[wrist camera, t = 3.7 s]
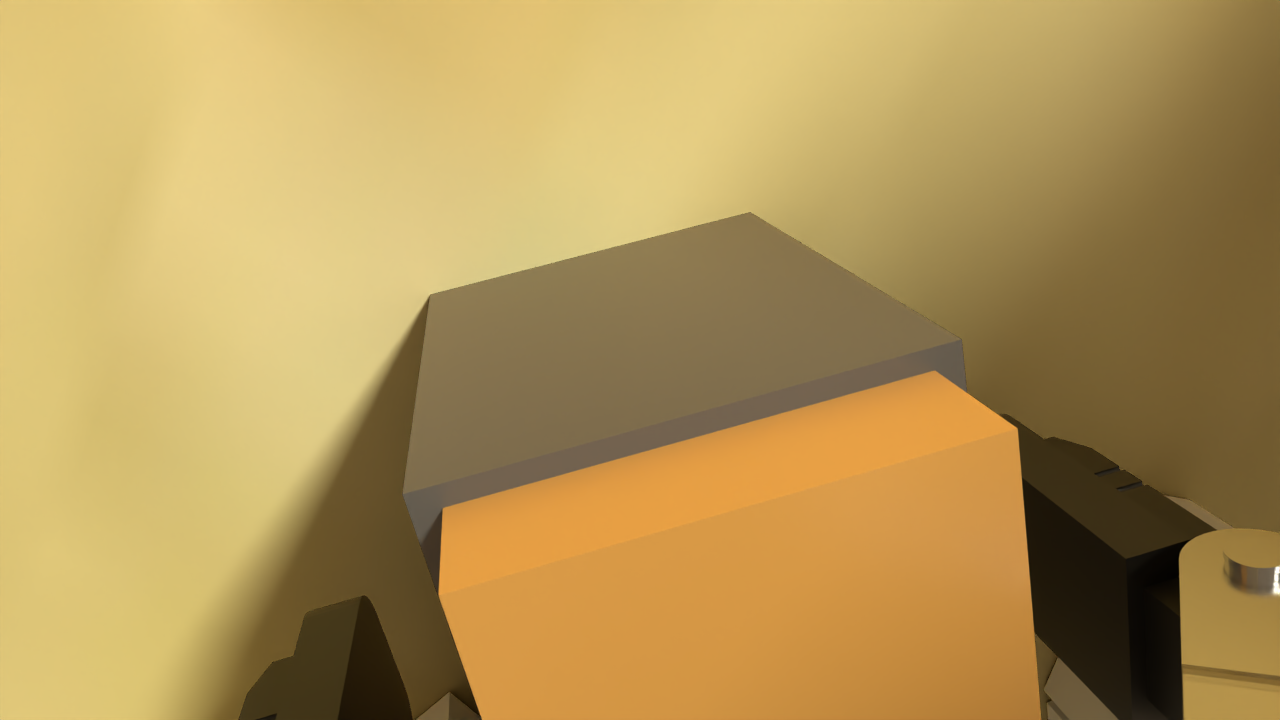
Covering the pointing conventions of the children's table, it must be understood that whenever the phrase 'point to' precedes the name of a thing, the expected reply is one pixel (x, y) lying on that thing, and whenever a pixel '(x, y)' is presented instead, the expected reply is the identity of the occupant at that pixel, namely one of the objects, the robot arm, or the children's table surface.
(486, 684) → the orange-panel grey block
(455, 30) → the children's table surface
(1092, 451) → the robot arm
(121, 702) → the children's table surface
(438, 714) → the grey bracket and lid
